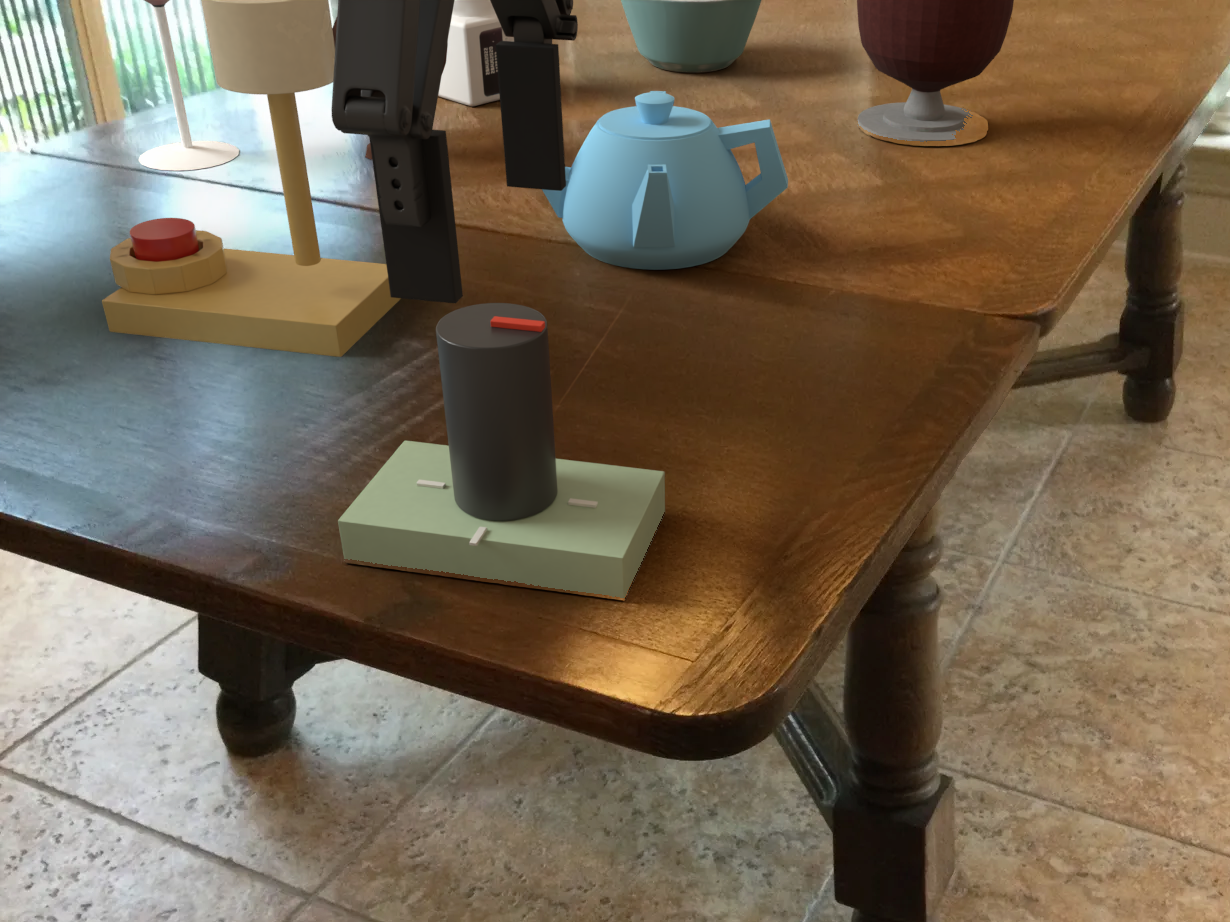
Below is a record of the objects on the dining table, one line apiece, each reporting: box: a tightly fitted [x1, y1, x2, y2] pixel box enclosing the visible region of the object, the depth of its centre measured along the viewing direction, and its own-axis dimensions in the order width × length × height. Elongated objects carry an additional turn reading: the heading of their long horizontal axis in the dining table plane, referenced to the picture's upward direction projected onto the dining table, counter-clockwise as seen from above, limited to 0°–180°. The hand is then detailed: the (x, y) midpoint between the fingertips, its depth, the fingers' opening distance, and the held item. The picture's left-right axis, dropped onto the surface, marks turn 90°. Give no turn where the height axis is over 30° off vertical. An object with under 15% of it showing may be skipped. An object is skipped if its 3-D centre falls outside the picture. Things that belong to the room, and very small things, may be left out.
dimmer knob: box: [435, 302, 558, 521], centre depth 63 cm, size 5×5×9 cm
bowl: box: [620, 0, 762, 74], centre depth 143 cm, size 16×16×8 cm
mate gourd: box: [856, 0, 1015, 142], centre depth 121 cm, size 16×14×20 cm
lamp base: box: [101, 229, 402, 358], centre depth 88 cm, size 18×10×4 cm, turn 78°
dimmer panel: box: [337, 440, 666, 598], centre depth 66 cm, size 14×9×3 cm, turn 78°
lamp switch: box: [129, 217, 200, 262], centre depth 88 cm, size 4×4×2 cm
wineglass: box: [138, 0, 240, 172], centre depth 111 cm, size 9×10×22 cm
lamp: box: [200, 0, 335, 266], centre depth 82 cm, size 7×7×16 cm
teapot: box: [541, 90, 789, 271], centre depth 98 cm, size 15×15×11 cm
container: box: [438, 0, 514, 107], centre depth 131 cm, size 8×8×13 cm
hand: (487, 237), depth 58 cm, fingers open, 13 cm apart
